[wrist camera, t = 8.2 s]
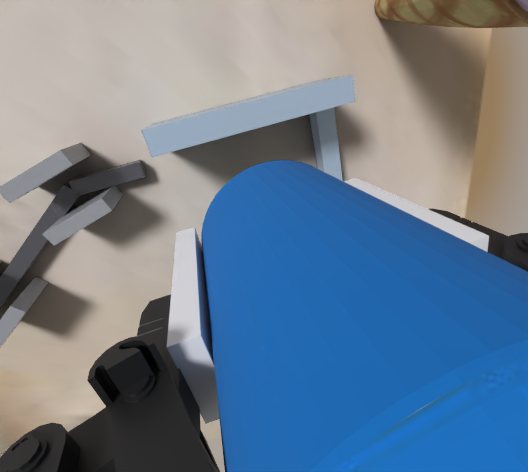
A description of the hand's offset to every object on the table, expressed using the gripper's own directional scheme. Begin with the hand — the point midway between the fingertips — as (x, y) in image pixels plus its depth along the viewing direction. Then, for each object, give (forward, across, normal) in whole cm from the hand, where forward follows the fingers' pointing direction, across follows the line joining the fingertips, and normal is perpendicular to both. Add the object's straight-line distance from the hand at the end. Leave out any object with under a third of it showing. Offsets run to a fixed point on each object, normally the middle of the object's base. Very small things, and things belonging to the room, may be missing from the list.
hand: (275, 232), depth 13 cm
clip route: (+8, -12, 0) cm, 15 cm away
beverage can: (+1, 0, 0) cm, 1 cm away
